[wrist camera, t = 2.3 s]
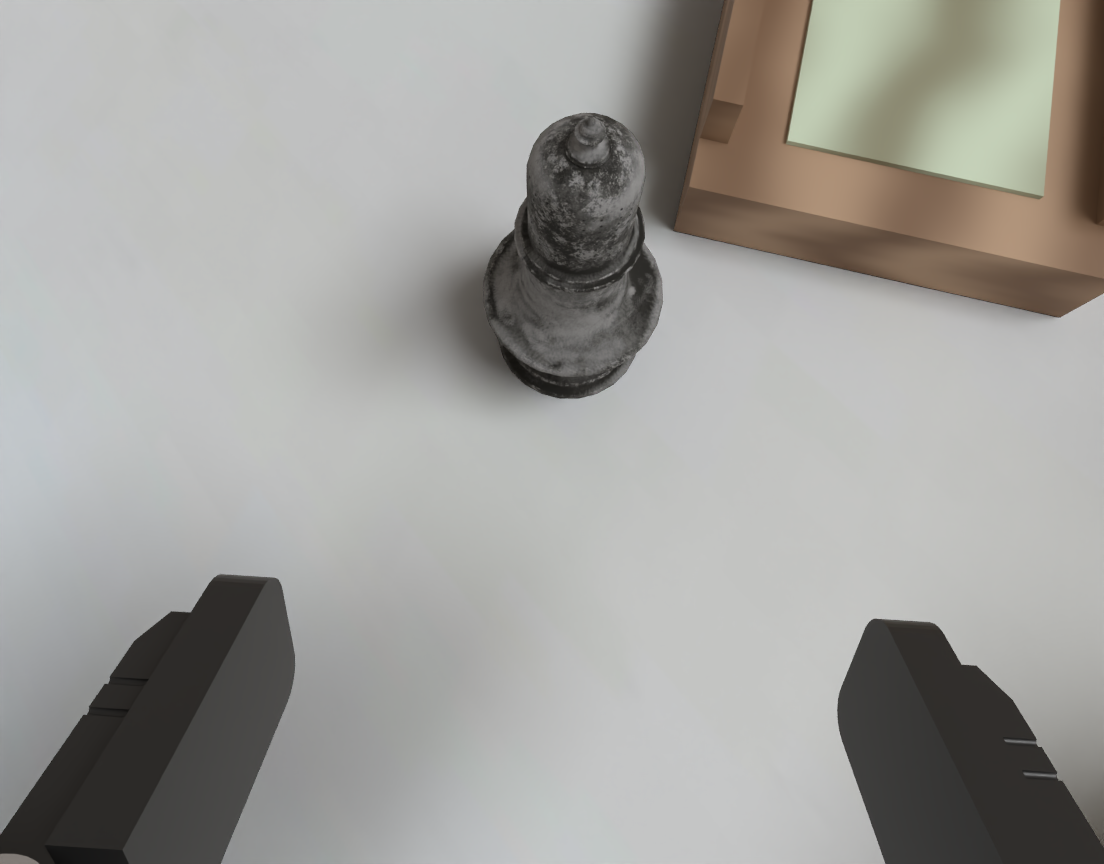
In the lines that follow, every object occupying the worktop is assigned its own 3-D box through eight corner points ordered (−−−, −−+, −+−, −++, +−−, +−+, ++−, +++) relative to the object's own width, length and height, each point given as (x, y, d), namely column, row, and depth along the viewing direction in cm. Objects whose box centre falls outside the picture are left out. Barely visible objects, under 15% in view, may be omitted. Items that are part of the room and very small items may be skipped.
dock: (673, 230, 28) (701, 151, 23) (736, -54, 31) (772, -176, 26) (1059, 317, 27) (1173, 254, 22) (1082, 18, 30) (1185, -93, 25)
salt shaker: (457, 344, 26) (393, 140, 15) (554, 230, 28) (564, -42, 16) (584, 438, 26) (622, 301, 14) (678, 317, 27) (784, 99, 15)
